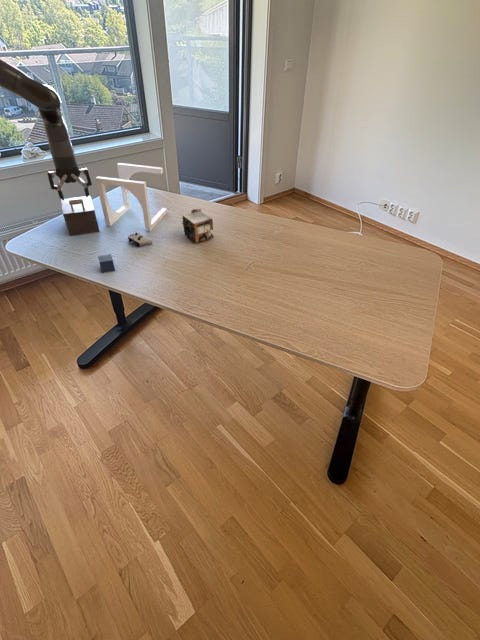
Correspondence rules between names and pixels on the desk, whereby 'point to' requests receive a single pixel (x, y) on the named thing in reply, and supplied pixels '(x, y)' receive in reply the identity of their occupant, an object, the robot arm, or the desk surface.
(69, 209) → the lid
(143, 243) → the game controller
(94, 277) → the desk surface
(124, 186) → the white arched cube frame
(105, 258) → the block
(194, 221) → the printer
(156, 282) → the desk surface
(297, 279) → the desk surface
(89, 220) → the storage box
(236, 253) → the desk surface
